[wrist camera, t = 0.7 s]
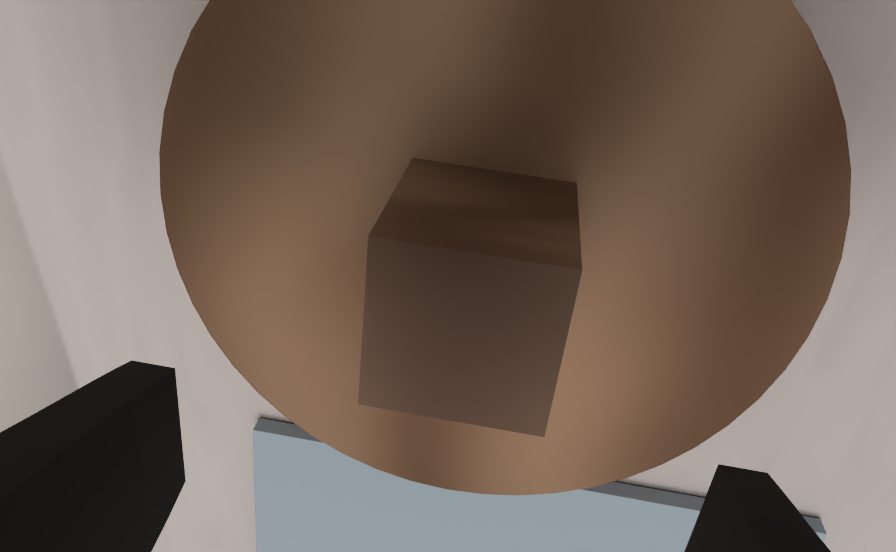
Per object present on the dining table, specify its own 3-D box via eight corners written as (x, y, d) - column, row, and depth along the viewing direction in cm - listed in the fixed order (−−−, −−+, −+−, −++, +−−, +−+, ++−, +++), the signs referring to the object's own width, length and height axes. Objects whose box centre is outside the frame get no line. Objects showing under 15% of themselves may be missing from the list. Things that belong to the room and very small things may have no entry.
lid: (974, -92, 12) (1180, -88, 8) (719, 523, 19) (762, 686, 15) (142, -192, 13) (-41, -231, 9) (193, 427, 20) (103, 556, 16)
